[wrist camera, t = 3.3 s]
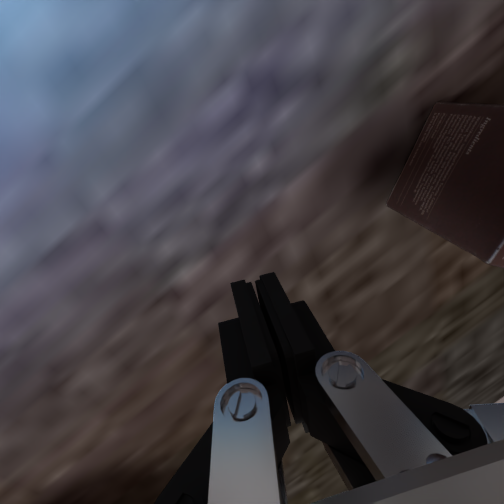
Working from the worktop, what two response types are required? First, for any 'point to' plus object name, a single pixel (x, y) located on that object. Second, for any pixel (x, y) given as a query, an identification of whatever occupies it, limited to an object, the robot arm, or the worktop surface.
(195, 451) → the robot arm
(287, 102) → the worktop surface
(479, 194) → the box
